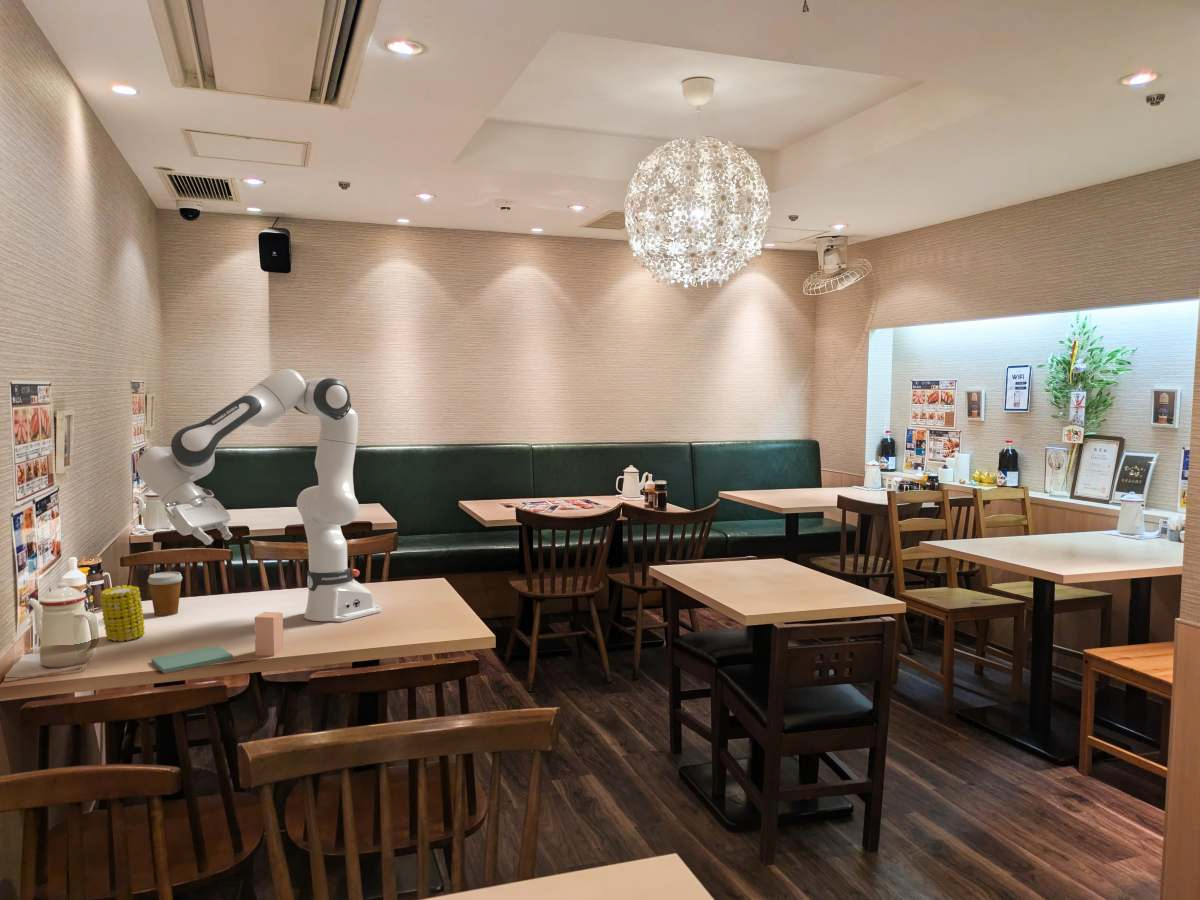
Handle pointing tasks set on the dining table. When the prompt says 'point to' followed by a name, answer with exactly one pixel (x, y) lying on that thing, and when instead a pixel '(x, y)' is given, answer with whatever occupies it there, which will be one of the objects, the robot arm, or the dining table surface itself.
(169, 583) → the disposable coffee cup
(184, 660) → the green pad
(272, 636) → the terracotta block
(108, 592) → the food
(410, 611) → the dining table surface
